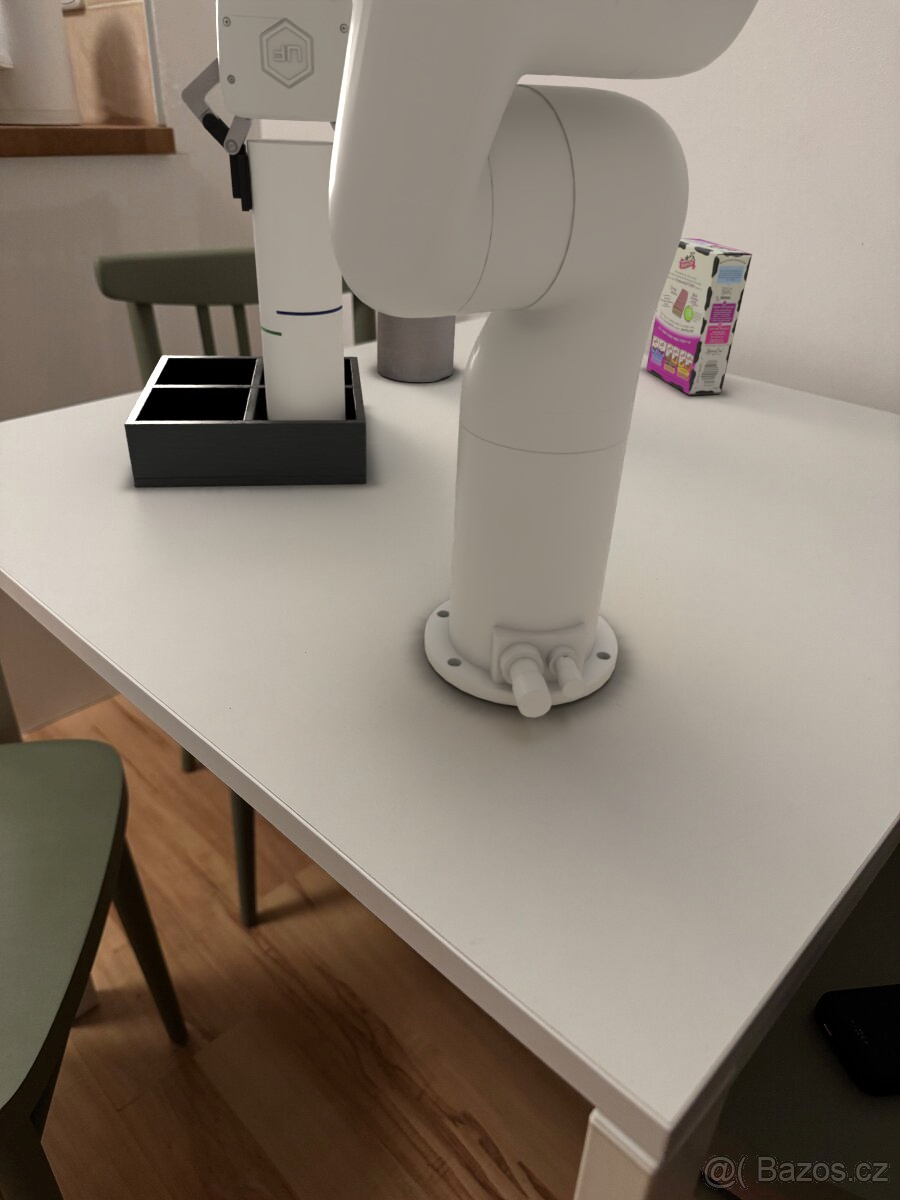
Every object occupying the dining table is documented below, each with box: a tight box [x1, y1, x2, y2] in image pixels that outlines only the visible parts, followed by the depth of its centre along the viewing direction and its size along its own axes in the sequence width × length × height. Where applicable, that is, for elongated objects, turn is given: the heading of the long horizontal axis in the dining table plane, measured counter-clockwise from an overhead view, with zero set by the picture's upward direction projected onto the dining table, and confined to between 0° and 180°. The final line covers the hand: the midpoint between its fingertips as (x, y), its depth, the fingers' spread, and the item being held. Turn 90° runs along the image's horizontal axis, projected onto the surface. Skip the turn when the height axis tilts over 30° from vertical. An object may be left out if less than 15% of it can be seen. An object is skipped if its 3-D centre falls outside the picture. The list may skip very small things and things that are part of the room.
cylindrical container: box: [245, 138, 345, 420], centre depth 73 cm, size 7×7×25 cm
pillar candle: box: [376, 311, 457, 383], centre depth 102 cm, size 10×10×15 cm
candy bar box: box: [645, 237, 753, 396], centre depth 103 cm, size 11×5×16 cm, turn 17°
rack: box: [123, 355, 368, 488], centre depth 82 cm, size 20×20×6 cm
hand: (296, 208), depth 69 cm, fingers closed on cylindrical container, 7 cm apart
